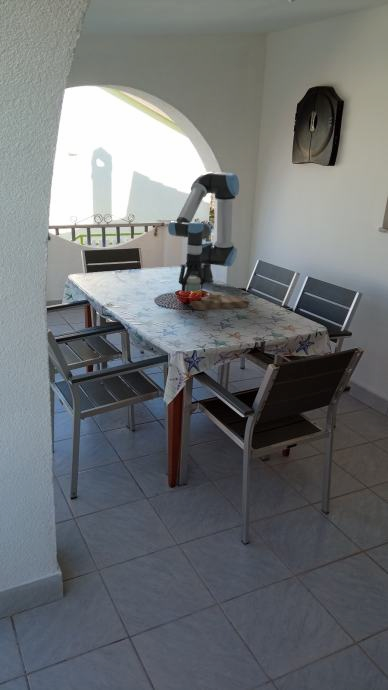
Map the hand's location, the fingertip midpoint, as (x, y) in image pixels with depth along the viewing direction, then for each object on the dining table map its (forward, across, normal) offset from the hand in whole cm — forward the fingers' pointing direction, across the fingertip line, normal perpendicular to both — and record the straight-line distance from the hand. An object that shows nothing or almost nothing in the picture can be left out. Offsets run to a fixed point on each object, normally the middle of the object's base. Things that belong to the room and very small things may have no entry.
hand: (191, 296), depth 268 cm
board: (+2, -10, +12) cm, 15 cm away
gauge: (-1, -5, +13) cm, 14 cm away
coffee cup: (+2, 0, 0) cm, 2 cm away
